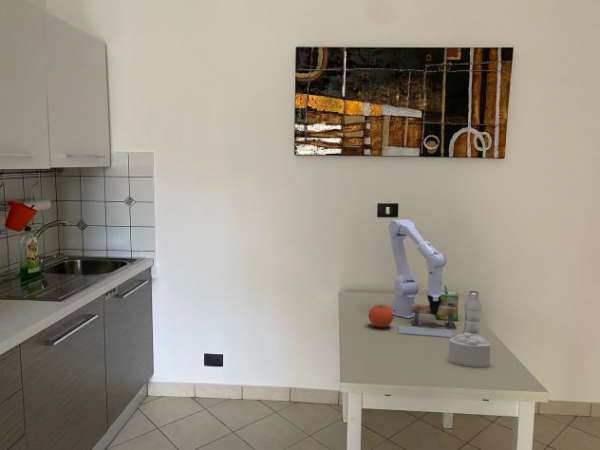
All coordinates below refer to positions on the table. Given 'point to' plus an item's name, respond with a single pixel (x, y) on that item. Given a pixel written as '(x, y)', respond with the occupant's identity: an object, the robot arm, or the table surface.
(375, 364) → the table surface
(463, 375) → the table surface
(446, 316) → the chalk box
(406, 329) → the mat
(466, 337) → the lumpy-topped squat cylinder
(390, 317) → the tomato
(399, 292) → the robot arm
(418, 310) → the wavy strip
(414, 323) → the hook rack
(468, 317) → the plastic bottle
